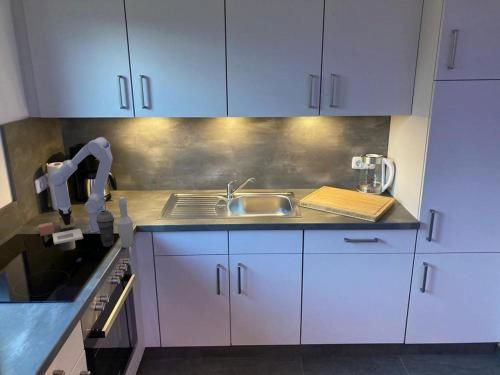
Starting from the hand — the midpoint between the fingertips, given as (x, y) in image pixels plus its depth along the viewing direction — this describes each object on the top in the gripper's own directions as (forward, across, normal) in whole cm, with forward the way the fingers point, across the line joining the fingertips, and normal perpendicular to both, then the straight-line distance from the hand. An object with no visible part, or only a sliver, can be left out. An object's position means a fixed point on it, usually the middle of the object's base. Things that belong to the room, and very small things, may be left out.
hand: (67, 223), depth 196 cm
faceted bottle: (+4, +34, +21) cm, 40 cm away
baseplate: (+3, +10, -1) cm, 11 cm away
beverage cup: (+3, +28, +14) cm, 32 cm away
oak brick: (+2, 0, 0) cm, 2 cm away
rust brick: (+3, 0, -9) cm, 10 cm away
